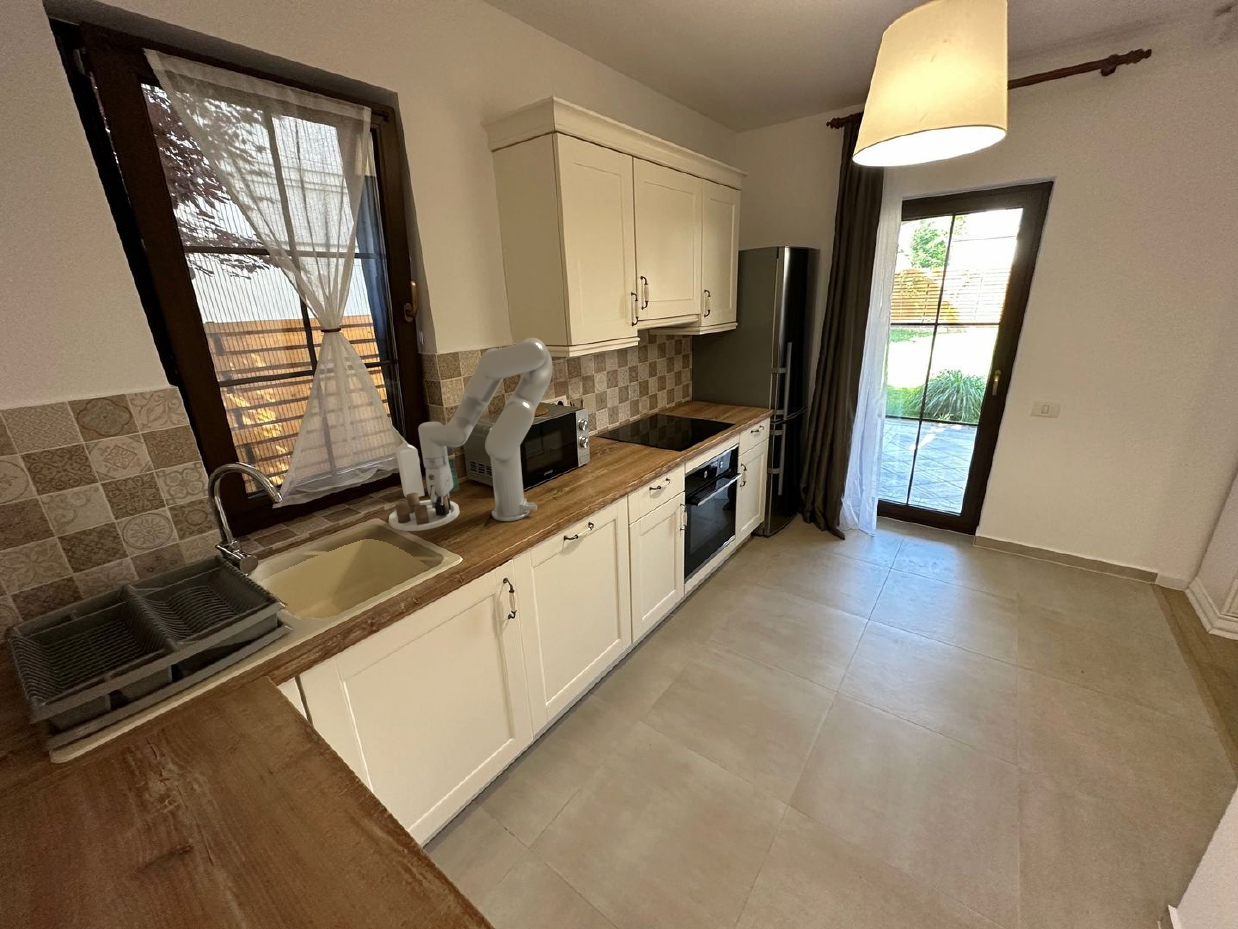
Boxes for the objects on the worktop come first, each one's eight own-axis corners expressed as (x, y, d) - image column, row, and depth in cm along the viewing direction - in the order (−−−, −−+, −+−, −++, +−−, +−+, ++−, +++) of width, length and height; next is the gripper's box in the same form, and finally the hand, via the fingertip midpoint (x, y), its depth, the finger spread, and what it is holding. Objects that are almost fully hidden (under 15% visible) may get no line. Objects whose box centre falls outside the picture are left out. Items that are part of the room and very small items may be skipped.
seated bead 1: (422, 508, 168) (420, 492, 166) (417, 513, 164) (415, 497, 162) (411, 508, 168) (409, 492, 166) (406, 513, 164) (404, 497, 162)
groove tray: (468, 505, 172) (468, 499, 171) (445, 533, 151) (444, 527, 151) (408, 505, 173) (407, 499, 173) (376, 533, 153) (375, 527, 152)
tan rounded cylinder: (451, 511, 163) (448, 494, 161) (446, 515, 160) (444, 499, 158) (440, 511, 163) (437, 494, 161) (435, 515, 160) (433, 499, 158)
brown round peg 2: (431, 521, 158) (428, 504, 156) (426, 526, 154) (423, 509, 152) (419, 521, 158) (417, 504, 156) (414, 526, 154) (411, 509, 152)
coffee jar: (463, 491, 185) (456, 444, 179) (444, 497, 179) (436, 449, 173) (449, 485, 191) (443, 440, 185) (431, 491, 185) (423, 444, 179)
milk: (408, 502, 176) (397, 444, 169) (403, 497, 181) (393, 440, 173) (425, 497, 179) (415, 440, 172) (420, 492, 184) (411, 437, 177)
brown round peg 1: (412, 518, 160) (409, 501, 158) (407, 523, 157) (404, 506, 155) (401, 518, 161) (398, 501, 159) (396, 523, 157) (393, 506, 155)
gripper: (437, 469, 147) (445, 523, 153) (456, 452, 163) (463, 502, 169) (413, 469, 148) (422, 523, 154) (434, 452, 163) (442, 502, 169)
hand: (443, 512), depth 161 cm, fingers closed on tan rounded cylinder, 3 cm apart
